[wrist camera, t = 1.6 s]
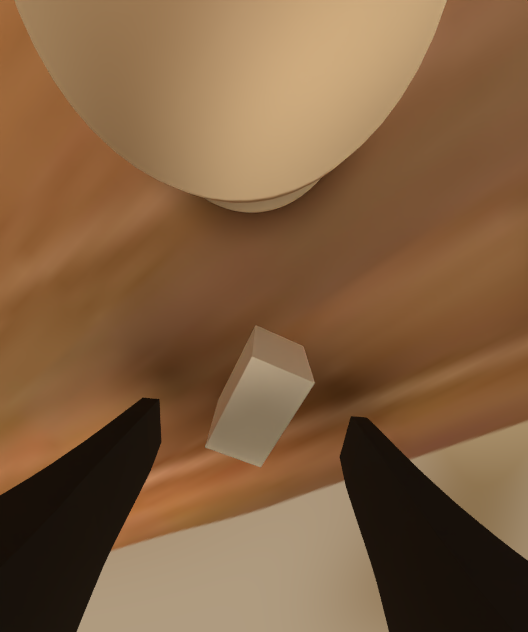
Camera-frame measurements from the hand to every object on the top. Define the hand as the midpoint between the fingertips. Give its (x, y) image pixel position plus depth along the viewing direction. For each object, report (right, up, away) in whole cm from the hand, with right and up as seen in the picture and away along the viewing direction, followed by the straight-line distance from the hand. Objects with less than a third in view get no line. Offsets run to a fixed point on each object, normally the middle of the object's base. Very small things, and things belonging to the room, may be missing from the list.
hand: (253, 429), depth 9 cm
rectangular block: (0, +1, +3) cm, 4 cm away
